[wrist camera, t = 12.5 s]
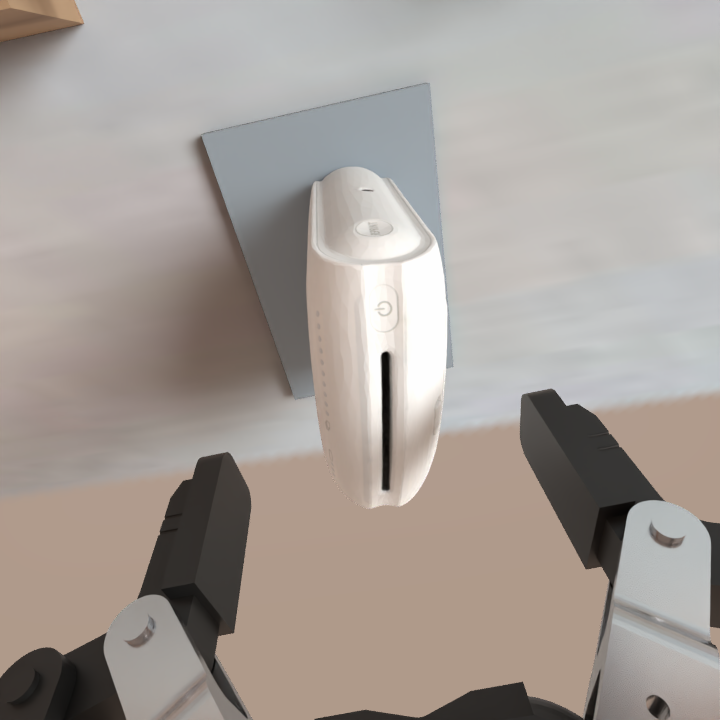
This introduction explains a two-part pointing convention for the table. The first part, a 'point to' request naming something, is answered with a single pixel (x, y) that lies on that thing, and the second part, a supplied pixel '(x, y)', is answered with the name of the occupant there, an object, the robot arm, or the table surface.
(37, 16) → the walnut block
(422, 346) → the photo printer
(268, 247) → the slate mat
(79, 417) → the table surface
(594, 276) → the table surface
